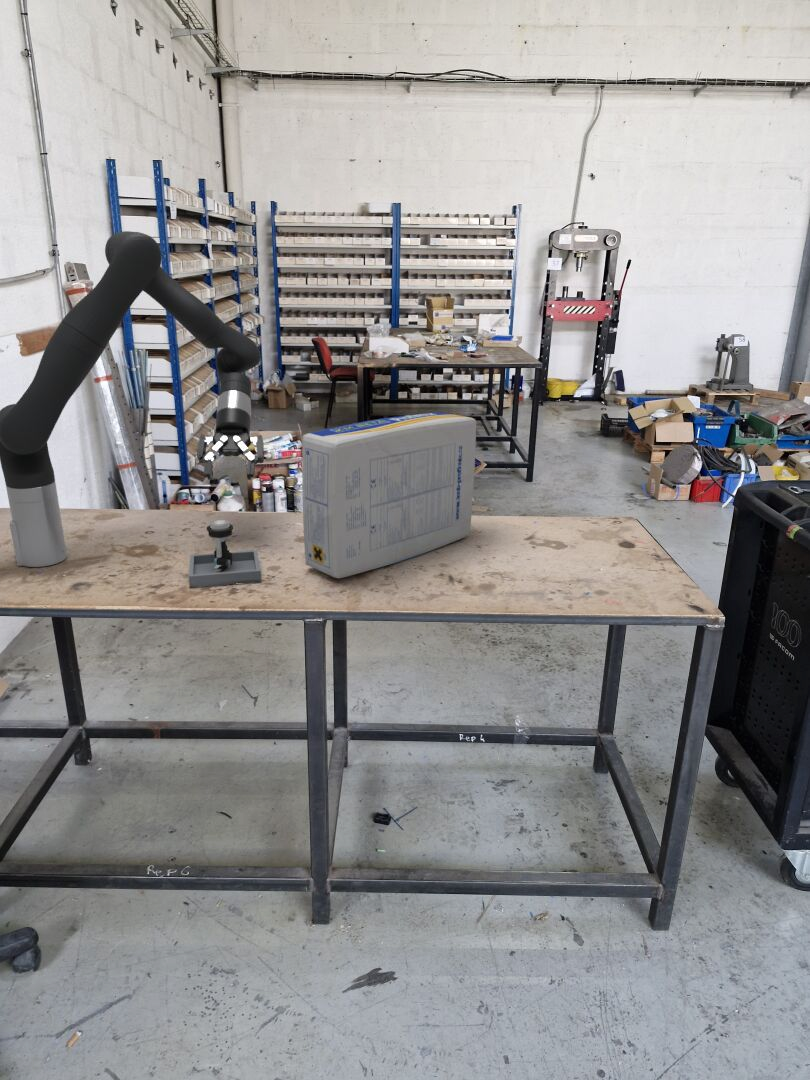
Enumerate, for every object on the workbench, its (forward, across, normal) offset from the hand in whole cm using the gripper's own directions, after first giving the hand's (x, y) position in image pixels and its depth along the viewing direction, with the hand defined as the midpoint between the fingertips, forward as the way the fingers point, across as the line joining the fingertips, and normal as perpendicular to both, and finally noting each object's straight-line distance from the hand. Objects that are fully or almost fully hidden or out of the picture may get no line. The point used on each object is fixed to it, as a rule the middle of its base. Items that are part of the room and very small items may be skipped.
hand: (229, 478), depth 154 cm
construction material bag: (+14, +36, +11) cm, 40 cm away
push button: (+20, -1, +4) cm, 20 cm away
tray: (+21, 0, +3) cm, 21 cm away
